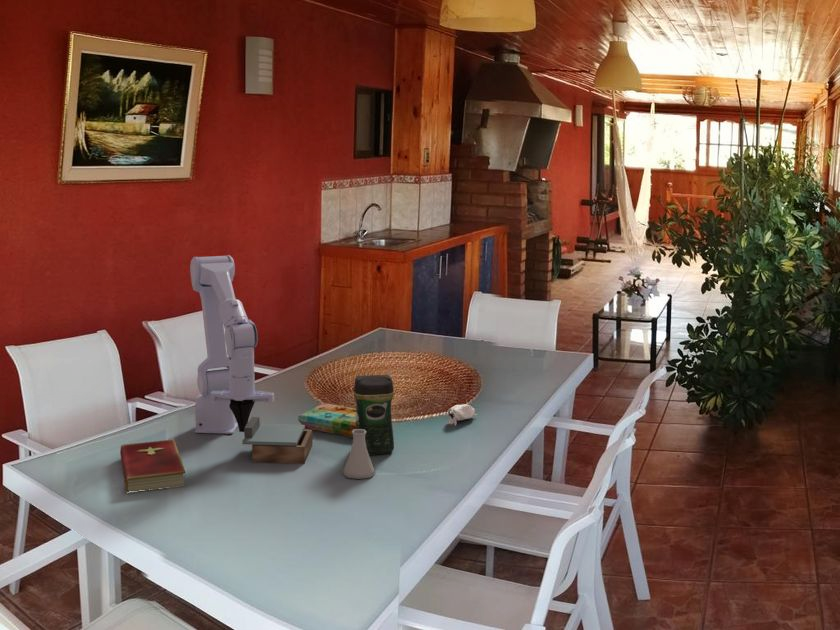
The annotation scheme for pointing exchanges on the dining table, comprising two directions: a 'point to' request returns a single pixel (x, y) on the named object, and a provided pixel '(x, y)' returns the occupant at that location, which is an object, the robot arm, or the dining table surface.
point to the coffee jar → (375, 411)
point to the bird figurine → (460, 413)
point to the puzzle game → (330, 419)
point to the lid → (271, 433)
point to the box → (284, 451)
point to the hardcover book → (151, 465)
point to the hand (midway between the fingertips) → (243, 430)
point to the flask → (359, 458)
